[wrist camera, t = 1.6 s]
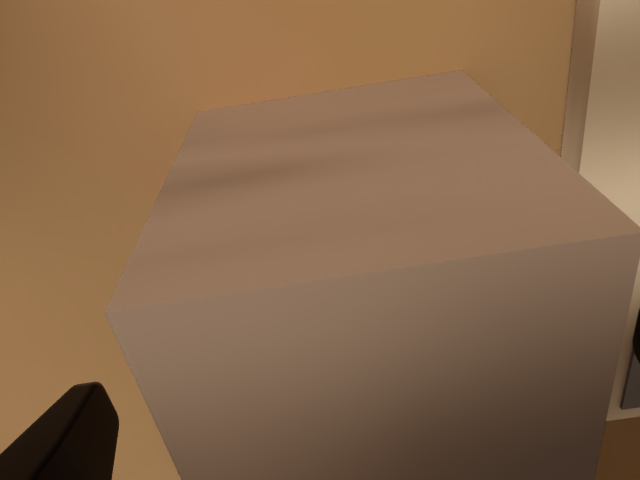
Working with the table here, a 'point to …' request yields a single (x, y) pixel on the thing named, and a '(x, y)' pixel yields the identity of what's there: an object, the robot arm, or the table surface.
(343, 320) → the upright wooden block
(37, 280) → the table surface
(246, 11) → the table surface
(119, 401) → the table surface
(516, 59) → the table surface
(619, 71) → the guide board
